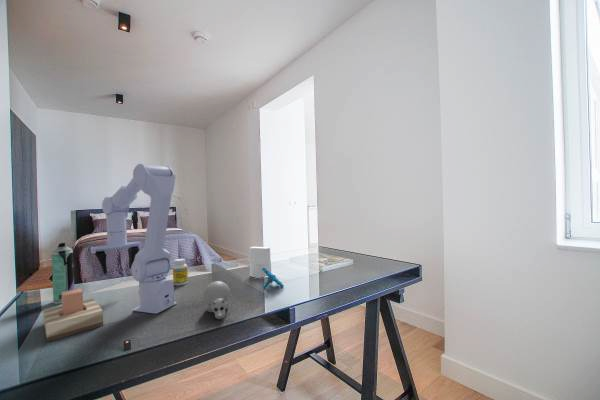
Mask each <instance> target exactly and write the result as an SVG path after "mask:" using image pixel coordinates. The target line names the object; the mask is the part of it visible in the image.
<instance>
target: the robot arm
mask: <svg viewBox="0 0 600 400" xmlns="http://www.w3.org/2000/svg"><path fill="white" fill-rule="evenodd" d="M132 172H133V173H132V179H131V180H130V181H129V183H128V184H127V185H121V186H120V188H118V190H116V192H115V193H114V194H113V195H112V196H106V197H104V198H103V200H102V204H101V209H102V212H103V213H104V214H105V220H106V223H105V224H106V243H107V244H105V245H98V246H91V247H90V253H91V254H94V255H95V257H96V258H97V260H98V262H99V264H100V266H101V268H102V273H103V274H105V275H106V274H107V272H108V270H107V269H108V268H107V254H106V252H113V251H120V250H127V253H128V268H129V270H130V272H131V276H132V278H133V279H134V280H135V281H136V282H138V290H139V291H138V293H139V306H137V307H135V308H133V309H132V311H133V312H134V311H135V312H141V313H148V314H154V315H157V314H159V313H160V312H163V311H165V310H167V309H170V307H171V308H172V306H175V305H176V304H177V301H175V285H174V283H173V281H172V280H171V279H168V278H167V277H168V276H169V275H168V274H169V273H170V272H171V270H172V269H171V268H172V261H171V256H172V255H171V252H170V251H169V250H167V249H166V248H164V247H165V241H166V235H167V228H168V222H169V221H168V220H169V214H170V209H171V208H170V207H171V202H172V201H171V200H172V195H173V193H174V190H175V182H176V174H175V172H174V170H173V169H172V167H171V166H169V165H168V166H167V165H165V166H164V165H163V166H161V165H154V164H153V165H152V164H143V163H138V164H136V165H135V167H134V168H133V171H132ZM141 191H142V192H143V194H146V195H148V196H149V197H150V203H149V204H150V205H149V212H148V218H147V225H146V231H145V239H144V240H145V241H144V247H143V248H142V246H143V244H142V241H131V242H130V241H129V242H128V235H127V234H128V233H127V232H128V231H127V219H128V216H129V209H130V205H132V203H133V202H134V201H135V200H137V197H138V193H139V192H141ZM140 248H142V249H141V250H140Z"/></svg>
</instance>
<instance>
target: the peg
mask: <svg viewBox="0 0 600 400" xmlns="http://www.w3.org/2000/svg"><path fill="white" fill-rule="evenodd" d="M83 293H84V292H83V290H82V288H76V289H75V288H74V290H70V291H65V292H62V303H61V306H62V316H64V315H68V314H72V313H76V312H80V311H83V301H84V299H83V297H84V295H83Z"/></svg>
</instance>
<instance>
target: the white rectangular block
mask: <svg viewBox="0 0 600 400" xmlns="http://www.w3.org/2000/svg"><path fill="white" fill-rule="evenodd" d="M263 268H265V269H266V270H268V271H269V272H270V273H272V260H271V247H270V246H269V247H268V246H250V247H249V277H250V276H252V277H265V276H267V274H266V273H264V271H263V270H262V269H263Z"/></svg>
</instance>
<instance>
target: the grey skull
mask: <svg viewBox="0 0 600 400" xmlns="http://www.w3.org/2000/svg"><path fill="white" fill-rule="evenodd" d="M230 295H231V291H230V287H229V285H228V284H227V283H226V282H224V281H221V280H216V281H212V282H211V283H209V284H208V285H206V287H205V290H204V292H203V298H204V302H205V303H206V304H207V311H208V312H209V313H210V312H211V314H213V313H214V317H215V318H216V320H219V319H221V318H223V319H224V318H225V317H226V311H227V310H228V309H229V303H228V300H229V299H230ZM212 312H213V313H212ZM221 320H222V319H221Z"/></svg>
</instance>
